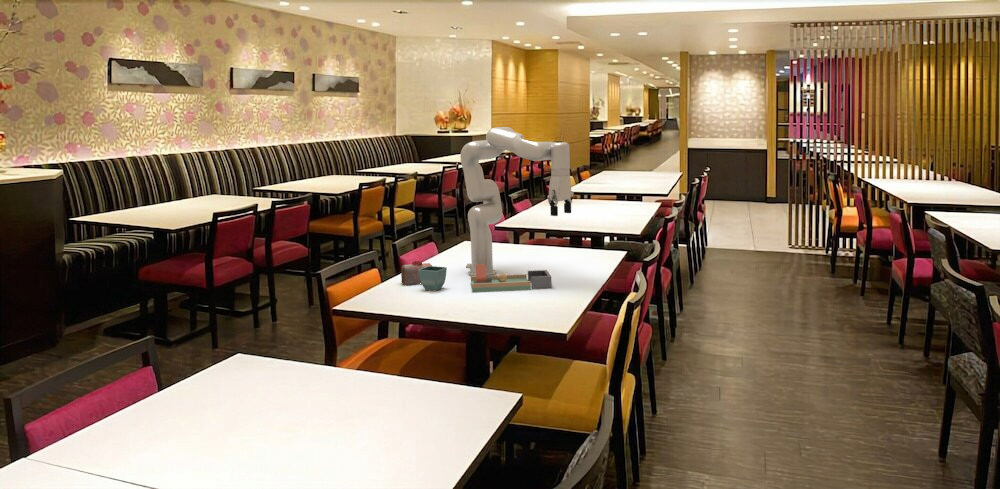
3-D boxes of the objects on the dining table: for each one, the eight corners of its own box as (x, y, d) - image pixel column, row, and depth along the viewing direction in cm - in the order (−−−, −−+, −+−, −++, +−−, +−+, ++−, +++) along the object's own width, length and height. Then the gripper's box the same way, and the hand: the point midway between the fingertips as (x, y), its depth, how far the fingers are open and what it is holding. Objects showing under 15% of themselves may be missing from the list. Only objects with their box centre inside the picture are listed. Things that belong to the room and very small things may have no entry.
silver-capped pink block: (474, 284, 314) (473, 265, 312) (473, 282, 318) (473, 263, 317) (491, 284, 314) (491, 265, 313) (491, 281, 319) (490, 263, 317)
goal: (531, 289, 311) (531, 277, 311) (528, 282, 325) (527, 270, 324) (551, 288, 312) (551, 276, 311) (546, 281, 325) (546, 269, 324)
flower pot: (448, 287, 318) (447, 266, 317) (437, 292, 310) (436, 271, 309) (429, 286, 322) (429, 265, 320) (419, 290, 314) (418, 269, 313)
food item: (430, 279, 335) (429, 257, 334) (435, 283, 328) (435, 260, 326) (400, 283, 330) (399, 261, 328) (405, 286, 323) (404, 264, 321)
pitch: (472, 292, 309) (472, 284, 308) (470, 284, 324) (470, 276, 323) (530, 289, 311) (530, 281, 310) (526, 281, 325) (526, 274, 325)
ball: (495, 283, 316) (495, 273, 316) (501, 281, 320) (501, 271, 319) (503, 284, 314) (503, 274, 313) (509, 282, 317) (508, 272, 317)
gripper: (564, 171, 318) (565, 211, 321) (540, 174, 305) (541, 216, 308) (579, 171, 314) (580, 212, 316) (555, 174, 300) (556, 217, 303)
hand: (561, 214), depth 312 cm, fingers open, 9 cm apart
